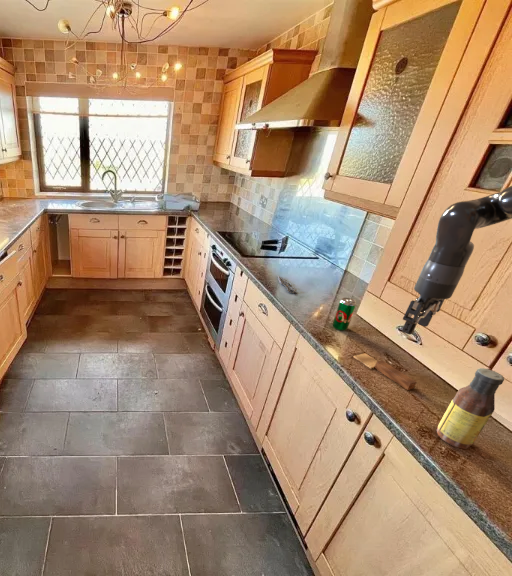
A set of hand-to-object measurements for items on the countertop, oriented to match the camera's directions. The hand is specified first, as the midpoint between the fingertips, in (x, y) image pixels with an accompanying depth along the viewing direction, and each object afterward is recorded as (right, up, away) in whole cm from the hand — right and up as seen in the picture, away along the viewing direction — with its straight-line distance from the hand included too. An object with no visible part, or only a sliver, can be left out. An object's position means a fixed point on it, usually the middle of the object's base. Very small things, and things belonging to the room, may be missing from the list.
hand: (414, 328), depth 88 cm
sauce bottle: (-4, -25, -13) cm, 28 cm away
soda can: (-1, -4, +30) cm, 30 cm away
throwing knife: (-4, +14, +64) cm, 66 cm away
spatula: (-3, -14, +8) cm, 17 cm away
